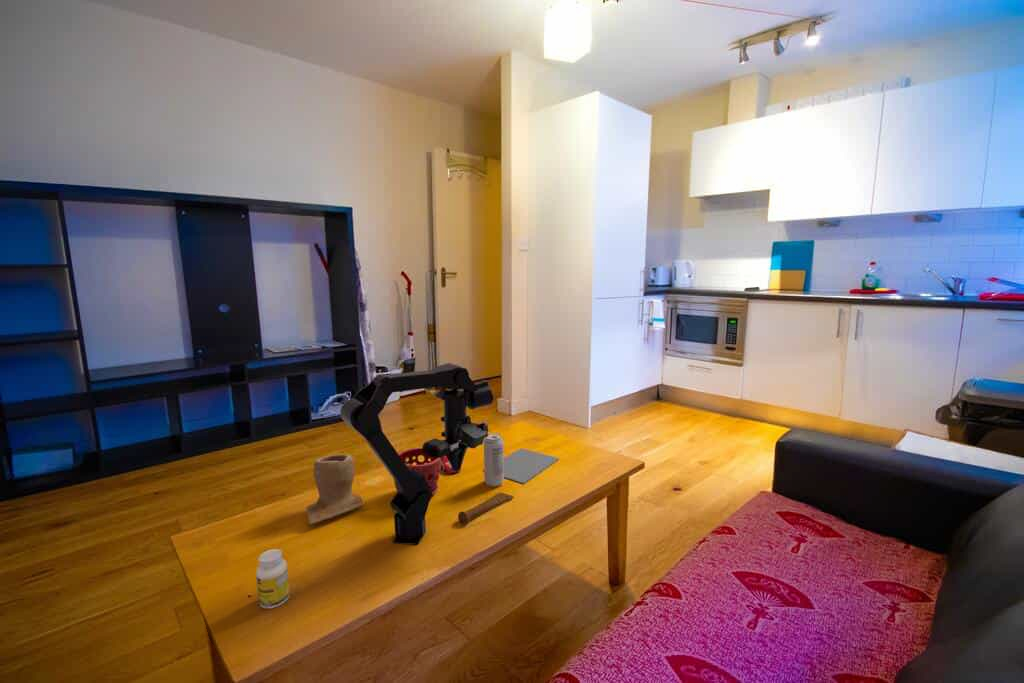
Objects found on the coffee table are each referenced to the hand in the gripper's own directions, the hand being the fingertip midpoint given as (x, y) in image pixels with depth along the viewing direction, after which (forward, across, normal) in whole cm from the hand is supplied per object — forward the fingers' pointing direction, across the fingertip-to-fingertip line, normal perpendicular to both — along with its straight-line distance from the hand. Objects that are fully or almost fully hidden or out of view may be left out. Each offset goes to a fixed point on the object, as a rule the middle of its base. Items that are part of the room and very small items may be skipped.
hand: (457, 470), depth 116 cm
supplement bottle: (+13, -44, +10) cm, 47 cm away
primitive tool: (+14, +8, -3) cm, 16 cm away
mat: (+13, +36, +4) cm, 38 cm away
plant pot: (+13, +2, +18) cm, 22 cm away
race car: (+14, +21, +24) cm, 34 cm away
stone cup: (+13, -18, +30) cm, 37 cm away
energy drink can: (+13, +20, +4) cm, 24 cm away
